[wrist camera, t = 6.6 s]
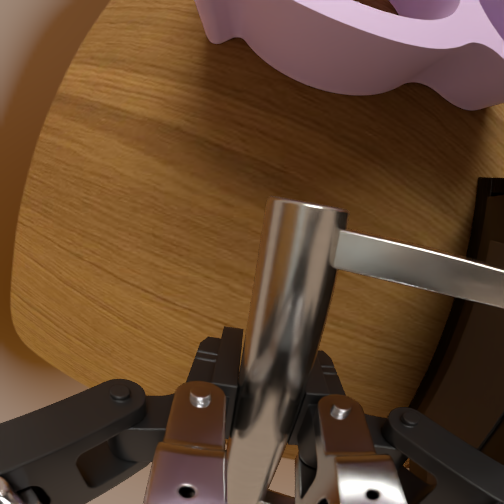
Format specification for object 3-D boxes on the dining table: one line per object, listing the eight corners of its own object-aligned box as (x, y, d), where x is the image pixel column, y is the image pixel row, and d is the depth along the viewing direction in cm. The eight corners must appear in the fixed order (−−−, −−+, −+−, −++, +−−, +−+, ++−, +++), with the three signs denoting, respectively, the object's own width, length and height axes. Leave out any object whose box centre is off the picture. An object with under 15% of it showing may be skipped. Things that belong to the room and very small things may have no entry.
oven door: (342, 161, 17) (274, 64, 5) (499, 200, 13) (640, 196, 1) (291, 395, 20) (207, 524, 9) (419, 426, 16) (414, 567, 5)
